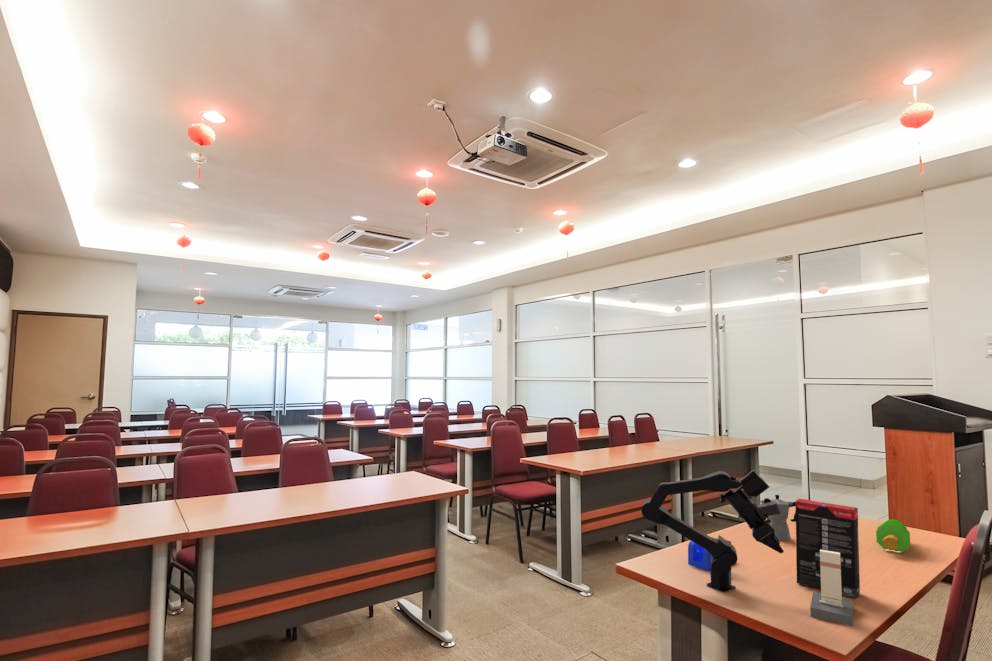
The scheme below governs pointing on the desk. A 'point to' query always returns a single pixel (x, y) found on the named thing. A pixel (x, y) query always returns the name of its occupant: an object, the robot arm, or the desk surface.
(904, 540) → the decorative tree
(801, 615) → the desk surface
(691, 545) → the bracket
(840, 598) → the strip
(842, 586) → the graphics card box
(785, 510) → the coffeepot
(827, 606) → the base
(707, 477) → the robot arm
